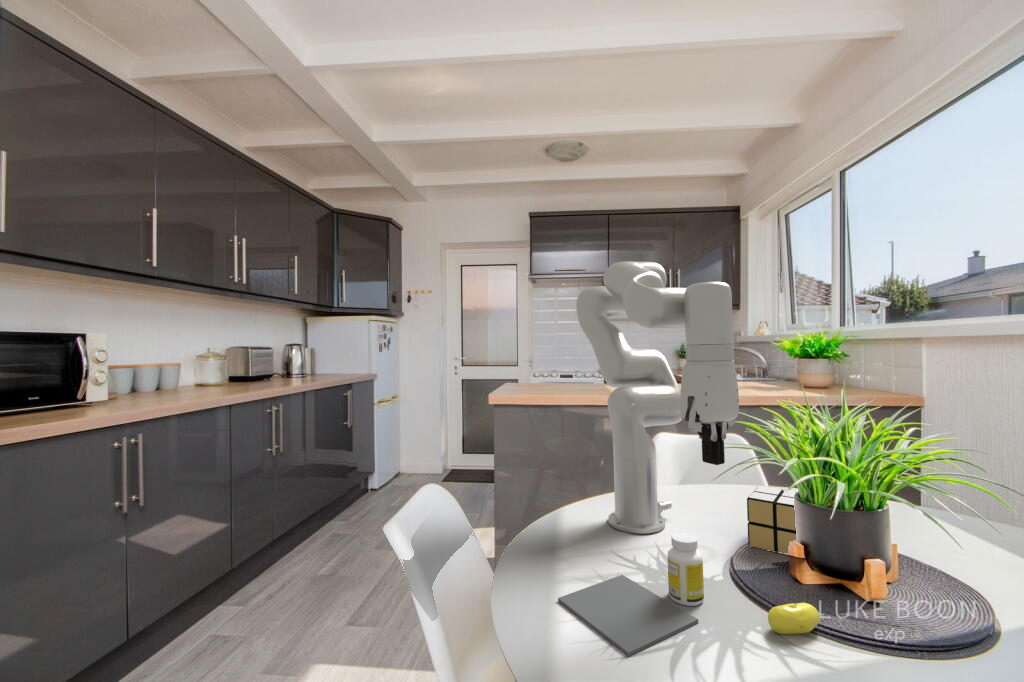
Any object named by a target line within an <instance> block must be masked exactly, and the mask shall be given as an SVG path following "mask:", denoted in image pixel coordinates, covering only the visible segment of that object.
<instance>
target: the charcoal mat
mask: <svg viewBox="0 0 1024 682" xmlns="http://www.w3.org/2000/svg"><path fill="white" fill-rule="evenodd" d="M557 601H558V602H559V603H560V604H561V605H563V606H564V607H565V608H566V609H568V610H569V611H570V612H571V613H572V614H574V615H575V616H577V617H578V618H579V619H580V620H582V621H583V622H584V623H586V624H587V625H588V626H589V627H591V629H593V630H594V631H596V633H598V634H599V635H601V636H602V637H603V638H605V639H606V640H607V641H609V642H610V643H611V644H613V646H615V647H616V648H617V649H618V650H619V651H621V652H622V653H624V654H625V655H626V656H627V657H630V656H632V655H635V654H636V653H639V652H640V651H643V650H645V649H646V648H649V647H651V646H653V645H655V644H657V643H660V642H662V641H664V640H665V639H667V637H668V638H670V637H672V636H675V634H676V635H677V634H678V633H680V632H683V630H686V629H688V628H690V627H692V626H695V625H697V624H698V623H699V618H697V617H695V616H694V615H692V614H690V613H689V612H686V611H685V610H683V609H682V608H680V607H679V606H677V605H675V604H673V603H671V602H670V601H668V600H666V599H665V598H663V597H661V596H659V595H658V594H656V593H654V592H653V591H651V590H649V589H648V588H645V587H644V586H642V585H640V584H639V583H637V582H636V581H634V580H632V579H631V578H629V577H628V576H626V575H624V574H620V575H618V576H615V577H613V578H609V579H606V580H603V581H600V582H598V583H595V584H593V585H590V586H587V587H585V588H582V589H579V590H577V591H574V592H570V593H568V594H565V595H562V596H560V597H557ZM669 636H670V637H669Z"/></svg>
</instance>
